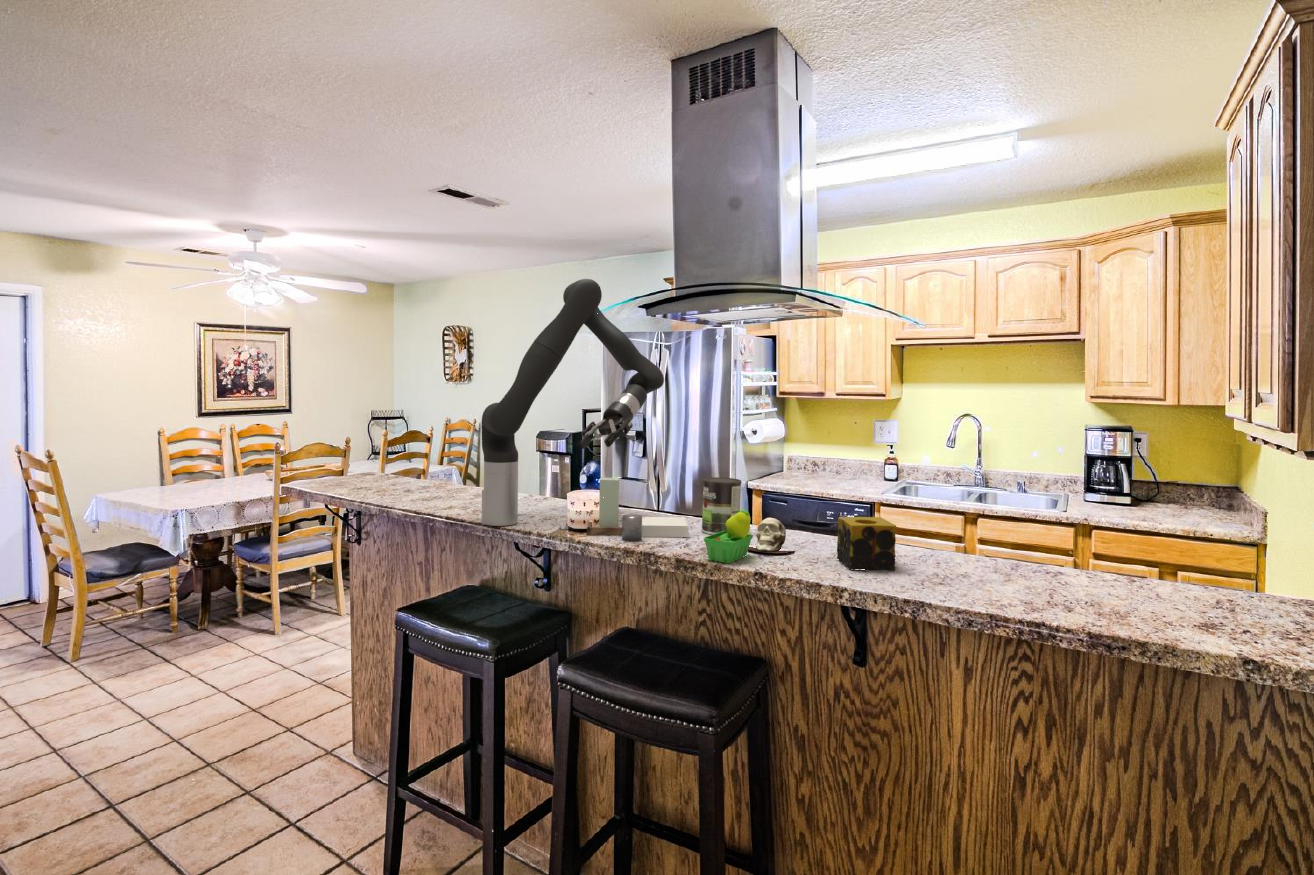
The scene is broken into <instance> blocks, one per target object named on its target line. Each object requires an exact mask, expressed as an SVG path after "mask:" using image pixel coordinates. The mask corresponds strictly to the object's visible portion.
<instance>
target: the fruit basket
mask: <svg viewBox="0 0 1314 875" xmlns="http://www.w3.org/2000/svg"><path fill="white" fill-rule="evenodd" d="M725 525H726V529H727V531H721V532H719V533H716V534H713V535H711V534H709V535H708V536H704V537H703V541H704V543H705V547H706V551H707V555H708V560H709V561H712V560H714V561H715V562H718V561H719V562H720V563H727V564H732V563H733V562H736V561H738V560H740V558H741V559H742V558H744V557H743V556H745V555H746V556H747V554H748V551H749V549H748V548H749V545H751V542H752V539H753V537H754V535H753V534H752V533H750V529H751V516H750V513H749V512H748V511H747V510H745V509H740V511H739V512H738V513H737V514H735V515H734V516H732V517H730V519H728V520H727V521H726V524H725ZM746 556H745V557H746ZM737 559H738V560H737ZM735 560H736V561H735ZM714 561H713V562H714Z"/></svg>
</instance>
